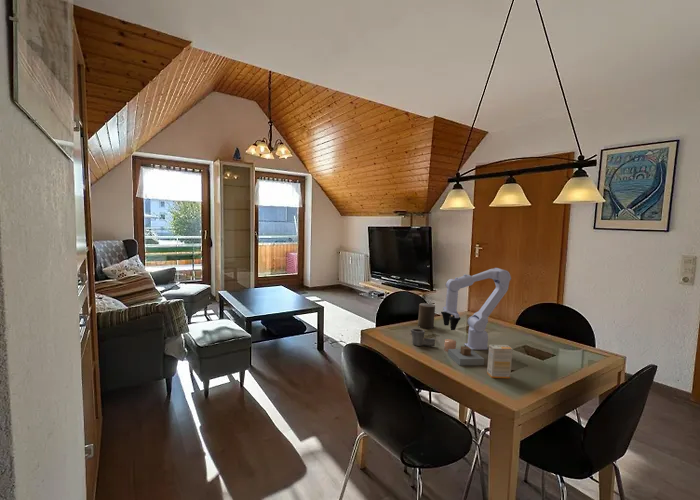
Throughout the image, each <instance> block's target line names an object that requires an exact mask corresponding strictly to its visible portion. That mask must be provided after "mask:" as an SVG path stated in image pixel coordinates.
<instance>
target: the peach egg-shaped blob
mask: <svg viewBox="0 0 700 500" xmlns="http://www.w3.org/2000/svg"><path fill="white" fill-rule="evenodd" d="M443 344H444V346H443V347H444V348H443V350H444V351H445V352H447V353H448V349H457V341H456V340H455V339H452V338H446V339H444V343H443Z"/></svg>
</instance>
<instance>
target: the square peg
mask: <svg viewBox="0 0 700 500" xmlns="http://www.w3.org/2000/svg"><path fill="white" fill-rule="evenodd" d="M460 349H461V351H460V353H461V354H462V355H463V356H471V349H470V348H469V347H468V346H466V345H465V346H460Z"/></svg>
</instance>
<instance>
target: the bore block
mask: <svg viewBox="0 0 700 500" xmlns="http://www.w3.org/2000/svg"><path fill="white" fill-rule="evenodd" d="M460 351H461V348H456V349H448V352H447V356H448V357H449V358H450V359H451V360H453V361H454V362H455V363H456V364H458V366H462V367H463V366H484V365H485V358H484V357H482V356H481V354H479V353H477V352H476V351H475V350H472V349H471V356H463V355H462V354H461V353H460Z"/></svg>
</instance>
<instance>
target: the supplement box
mask: <svg viewBox="0 0 700 500" xmlns="http://www.w3.org/2000/svg"><path fill="white" fill-rule="evenodd" d="M513 350H514V349H513V348H512V347H511V346H509V345H508V344H488V354H487V355H488V358H487V369H486V374H487V375H488V376H489V377H490V379H511V371H512V360H513Z"/></svg>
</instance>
